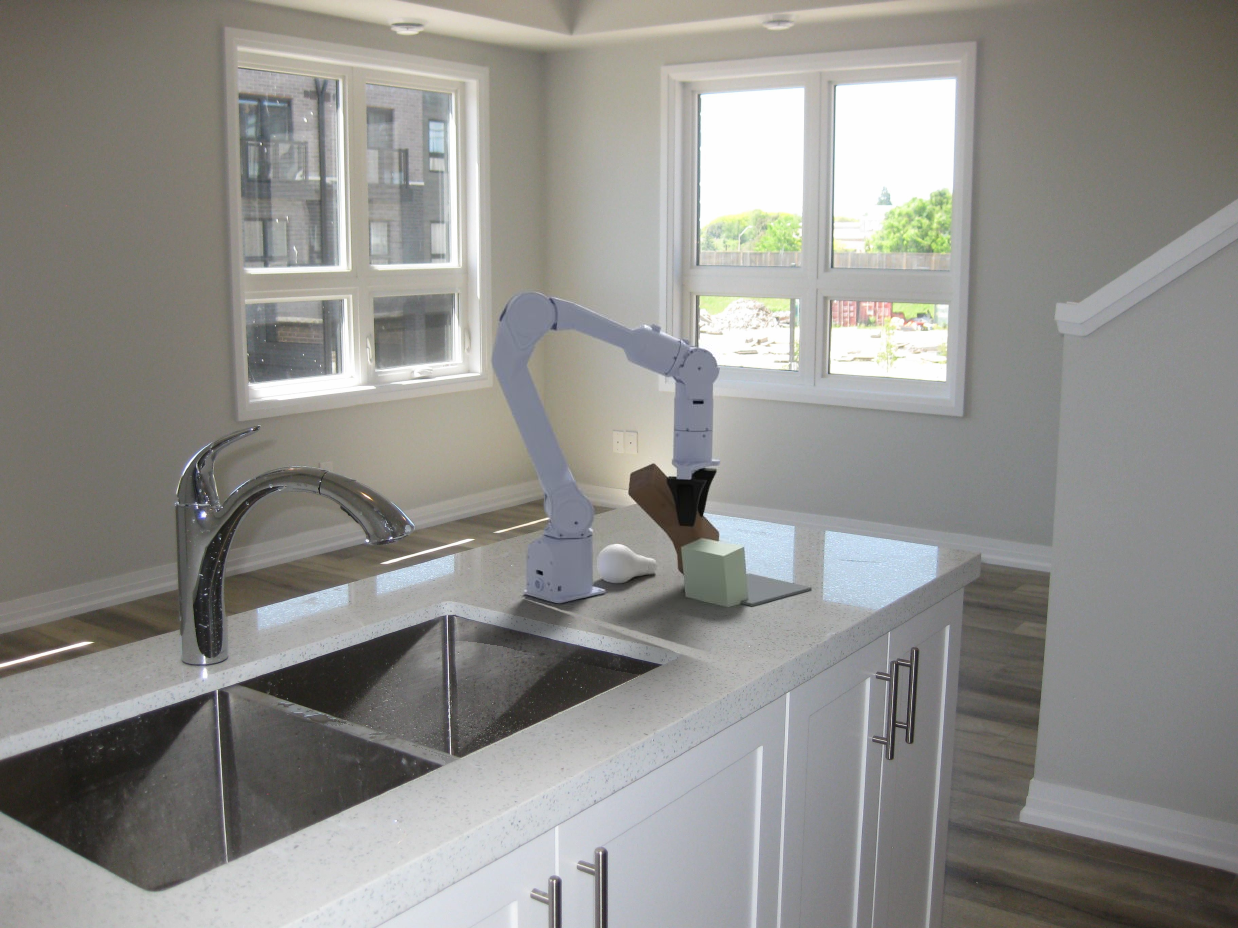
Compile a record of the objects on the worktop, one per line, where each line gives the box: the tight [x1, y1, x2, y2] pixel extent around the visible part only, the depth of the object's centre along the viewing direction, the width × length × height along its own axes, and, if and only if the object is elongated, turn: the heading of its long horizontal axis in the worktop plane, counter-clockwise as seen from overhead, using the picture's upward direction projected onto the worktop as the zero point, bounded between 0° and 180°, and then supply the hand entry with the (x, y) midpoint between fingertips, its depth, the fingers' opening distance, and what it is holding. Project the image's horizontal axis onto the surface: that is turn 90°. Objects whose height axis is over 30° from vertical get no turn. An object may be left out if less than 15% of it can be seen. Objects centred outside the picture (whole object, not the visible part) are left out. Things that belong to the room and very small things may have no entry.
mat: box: [740, 573, 813, 607], centre depth 171 cm, size 14×12×1 cm
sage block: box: [681, 538, 748, 608], centre depth 165 cm, size 4×8×8 cm, turn 44°
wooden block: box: [627, 463, 720, 576], centre depth 170 cm, size 9×4×18 cm
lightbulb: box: [595, 543, 658, 584], centre depth 177 cm, size 6×6×11 cm
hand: (691, 521), depth 170 cm, fingers open, 7 cm apart
